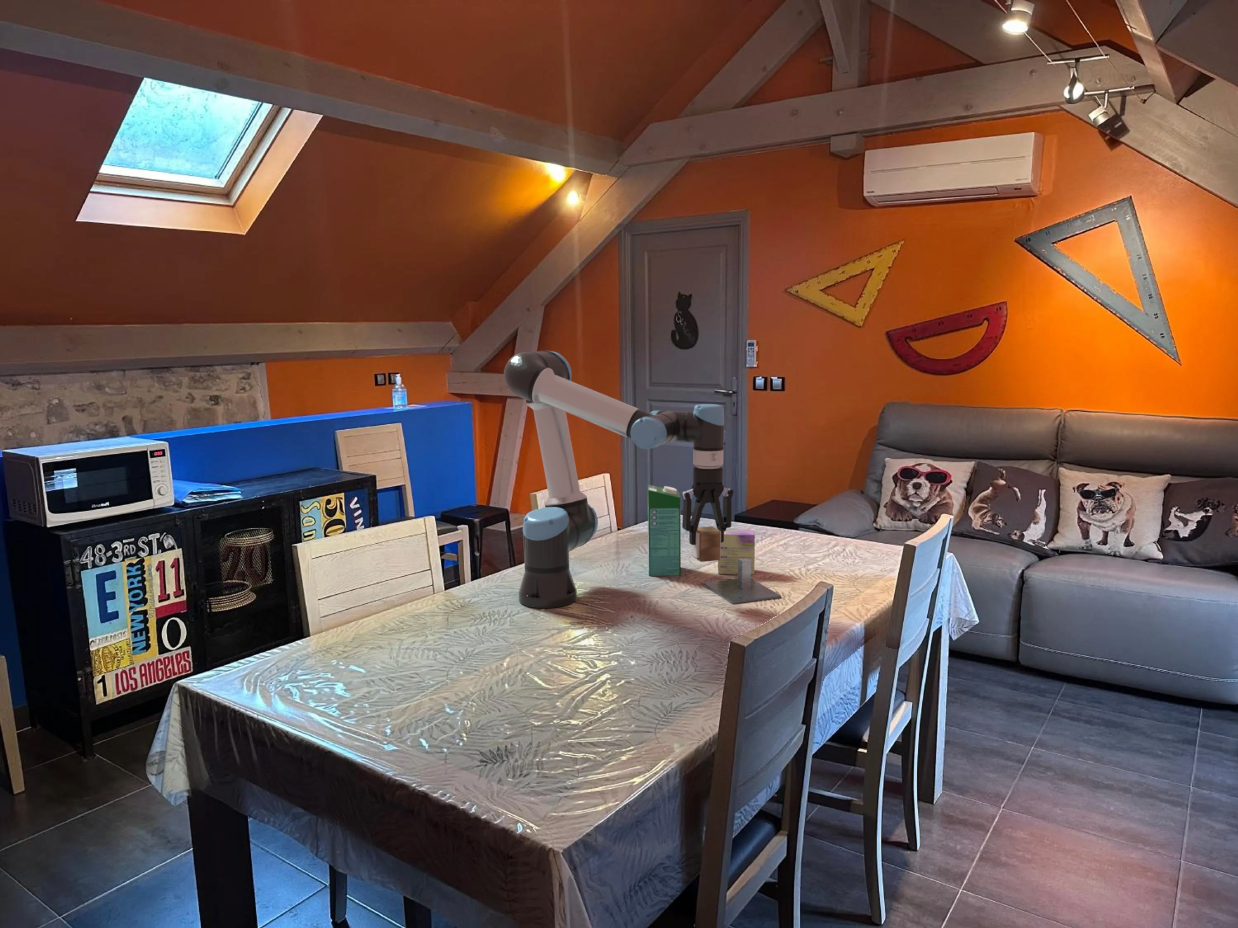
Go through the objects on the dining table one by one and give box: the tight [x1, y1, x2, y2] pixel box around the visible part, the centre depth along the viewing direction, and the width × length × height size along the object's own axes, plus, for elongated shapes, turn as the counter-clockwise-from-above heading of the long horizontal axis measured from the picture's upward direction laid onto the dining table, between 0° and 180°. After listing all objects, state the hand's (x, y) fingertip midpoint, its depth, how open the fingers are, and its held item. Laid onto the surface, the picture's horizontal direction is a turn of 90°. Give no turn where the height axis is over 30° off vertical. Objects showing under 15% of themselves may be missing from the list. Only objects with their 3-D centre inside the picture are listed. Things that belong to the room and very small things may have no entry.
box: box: [717, 529, 756, 576], centre depth 246 cm, size 10×6×12 cm, turn 84°
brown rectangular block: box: [692, 525, 720, 563], centre depth 219 cm, size 5×5×8 cm
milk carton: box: [647, 484, 682, 577], centre depth 247 cm, size 9×9×25 cm
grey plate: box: [702, 558, 782, 605], centre depth 229 cm, size 14×18×8 cm
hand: (706, 555), depth 219 cm, fingers closed on brown rectangular block, 5 cm apart
